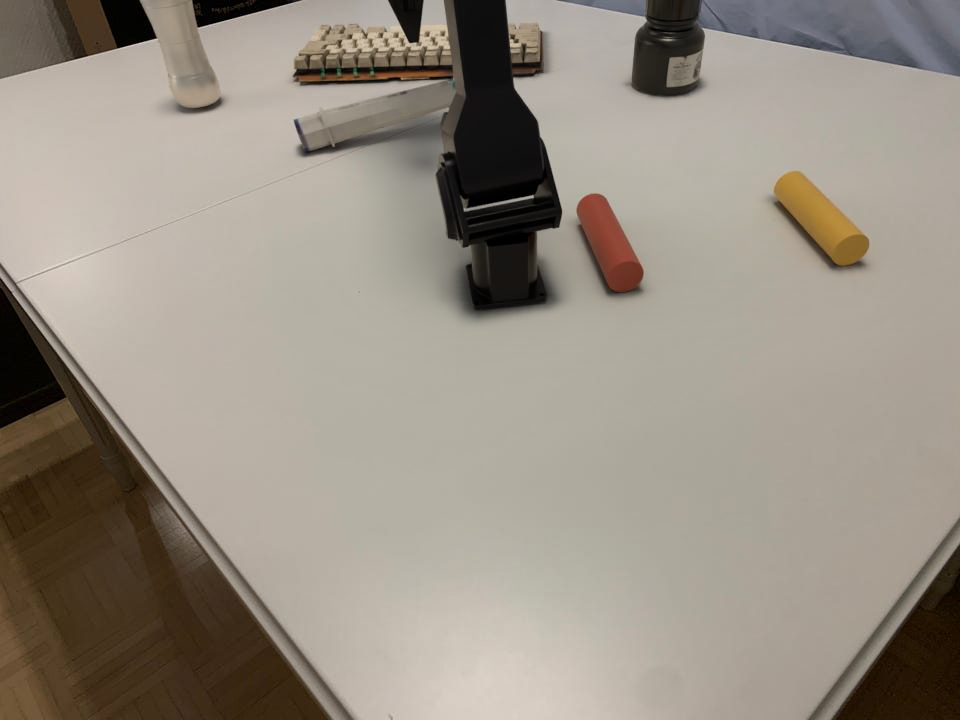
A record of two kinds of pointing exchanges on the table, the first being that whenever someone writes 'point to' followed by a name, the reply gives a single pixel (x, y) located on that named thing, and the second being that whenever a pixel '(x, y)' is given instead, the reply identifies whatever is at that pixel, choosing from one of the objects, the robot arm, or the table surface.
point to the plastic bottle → (183, 52)
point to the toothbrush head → (371, 114)
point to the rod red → (609, 243)
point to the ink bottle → (668, 47)
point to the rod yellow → (821, 218)
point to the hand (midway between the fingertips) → (408, 29)
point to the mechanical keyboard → (400, 53)
